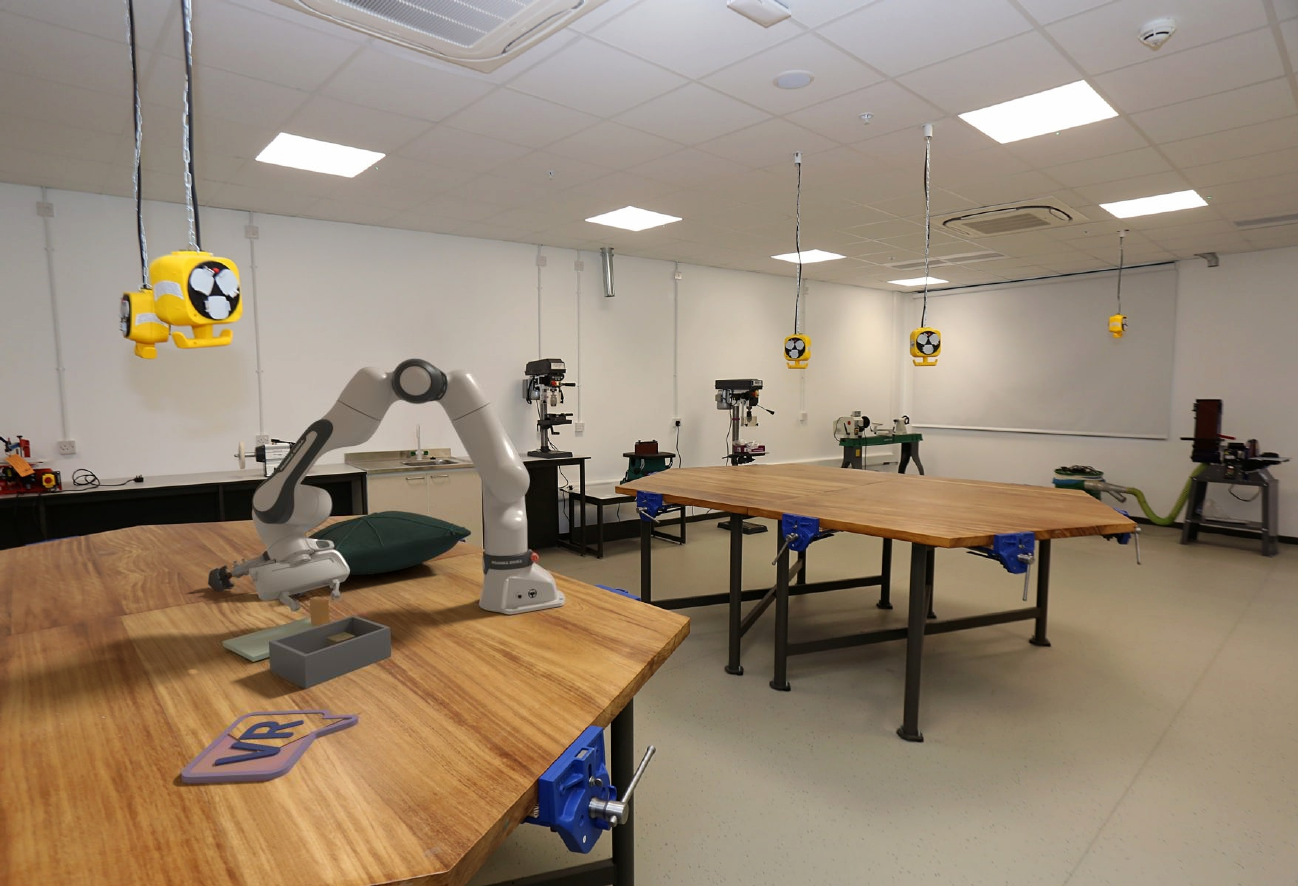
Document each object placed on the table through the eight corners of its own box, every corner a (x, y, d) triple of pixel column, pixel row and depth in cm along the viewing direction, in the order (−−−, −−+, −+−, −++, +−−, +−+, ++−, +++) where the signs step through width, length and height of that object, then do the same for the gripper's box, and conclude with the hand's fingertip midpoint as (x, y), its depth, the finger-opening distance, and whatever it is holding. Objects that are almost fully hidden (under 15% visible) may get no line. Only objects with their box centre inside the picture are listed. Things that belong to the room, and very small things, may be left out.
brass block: (345, 650, 139) (344, 631, 139) (356, 654, 137) (355, 635, 136) (327, 656, 136) (326, 637, 135) (337, 660, 133) (337, 642, 133)
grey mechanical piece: (299, 596, 174) (277, 541, 174) (220, 628, 181) (199, 574, 181) (314, 590, 180) (293, 537, 180) (237, 621, 186) (217, 569, 186)
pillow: (316, 523, 173) (279, 524, 206) (324, 592, 173) (285, 581, 206) (469, 500, 202) (415, 504, 235) (476, 559, 202) (421, 555, 235)
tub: (355, 646, 143) (354, 615, 143) (391, 660, 136) (390, 627, 135) (270, 676, 128) (268, 641, 128) (306, 693, 121) (304, 656, 120)
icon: (319, 771, 95) (173, 777, 93) (319, 781, 95) (174, 787, 93) (364, 708, 114) (244, 712, 112) (365, 716, 114) (245, 720, 112)
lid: (310, 626, 156) (309, 592, 155) (343, 640, 148) (342, 603, 147) (223, 652, 140) (221, 614, 139) (253, 669, 132) (251, 628, 131)
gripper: (250, 557, 143) (275, 608, 139) (338, 539, 160) (363, 585, 156) (241, 573, 146) (265, 625, 142) (328, 554, 163) (352, 600, 159)
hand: (317, 604), depth 149 cm, fingers open, 8 cm apart
